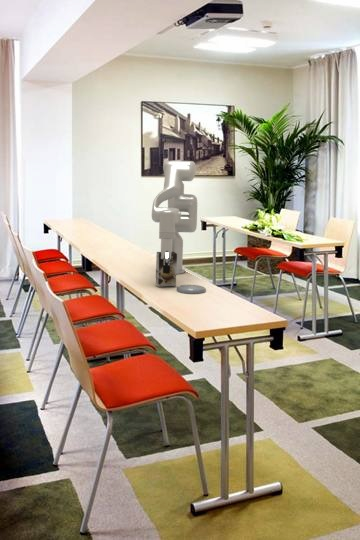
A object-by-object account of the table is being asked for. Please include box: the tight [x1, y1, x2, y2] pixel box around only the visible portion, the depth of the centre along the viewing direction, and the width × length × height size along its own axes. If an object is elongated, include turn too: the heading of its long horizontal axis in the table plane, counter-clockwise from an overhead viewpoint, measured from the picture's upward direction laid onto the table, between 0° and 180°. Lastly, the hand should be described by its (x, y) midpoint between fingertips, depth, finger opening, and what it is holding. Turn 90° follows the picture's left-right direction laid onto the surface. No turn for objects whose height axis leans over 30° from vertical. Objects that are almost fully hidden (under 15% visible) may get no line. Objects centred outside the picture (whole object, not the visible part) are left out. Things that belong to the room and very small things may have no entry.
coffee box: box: [155, 251, 177, 287], centre depth 300 cm, size 9×6×16 cm
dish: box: [176, 284, 207, 295], centre depth 294 cm, size 14×14×2 cm
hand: (166, 271), depth 300 cm, fingers closed on coffee box, 7 cm apart
